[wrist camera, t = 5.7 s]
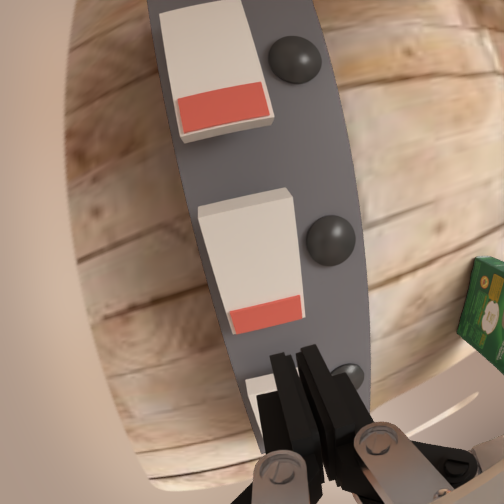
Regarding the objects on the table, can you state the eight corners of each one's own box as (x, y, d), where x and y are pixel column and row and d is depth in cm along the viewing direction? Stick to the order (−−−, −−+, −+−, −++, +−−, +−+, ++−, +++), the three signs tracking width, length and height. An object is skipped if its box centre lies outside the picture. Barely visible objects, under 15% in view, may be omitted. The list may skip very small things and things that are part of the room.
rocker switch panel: (289, 2, 16) (303, -28, 12) (353, 394, 25) (370, 426, 21) (158, 23, 16) (145, -6, 12) (255, 420, 25) (261, 456, 21)
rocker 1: (238, 16, 13) (239, -4, 11) (269, 128, 14) (275, 115, 12) (165, 31, 13) (158, 12, 11) (186, 146, 14) (179, 136, 12)
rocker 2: (282, 182, 14) (293, 198, 13) (296, 296, 18) (305, 319, 17) (197, 201, 14) (198, 219, 13) (229, 312, 18) (233, 336, 16)
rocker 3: (310, 356, 18) (320, 379, 16) (315, 417, 21) (322, 437, 19) (244, 372, 18) (248, 397, 16) (263, 430, 21) (267, 451, 19)
